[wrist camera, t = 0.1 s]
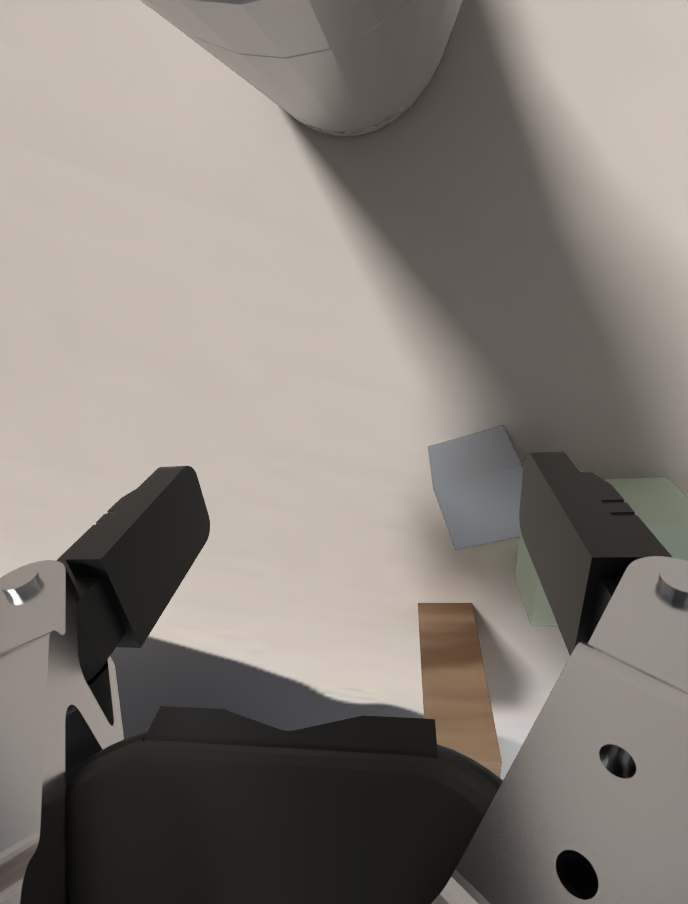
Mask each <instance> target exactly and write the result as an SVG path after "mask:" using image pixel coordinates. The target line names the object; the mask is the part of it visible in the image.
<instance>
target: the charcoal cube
mask: <svg viewBox="0 0 688 904" xmlns="http://www.w3.org/2000/svg"><path fill="white" fill-rule="evenodd" d="M428 451H429V459H430V466H431V474H432V482H433V489H434V492H435V495H436V497H437V500H438V503H439V506H440V509H441V511H442V514H443V517H444V520H445V522H446V525H447V528H448V531H449V534H450V536H451V539H452V542H453V545H454V548H455V550H458V549H462V548H467V547H472V546H477V545H481V544H486V543H491V542H496V541H500V540H505V539H510V538H514V537H519V536H522V534H521V529H520V520H519V510H520V499H521V488H522V477H523V467H522V464H521V462H520V460H519V458H518V456H517V454H516V452H515V449H514V447H513V445H512V443H511V441H510V439H509V437H508V434H507V432H506V430H505V428H504V426H503V425H502V426H499V427H495V428H492V429H488V430H485V431H481V432H477V433H474V434H470V435H467V436H463V437H460V438H456V439H453V440H449V441H446V442H442V443H439V444H435V445H431V446H428Z"/></svg>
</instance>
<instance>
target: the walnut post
mask: <svg viewBox="0 0 688 904" xmlns="http://www.w3.org/2000/svg"><path fill="white" fill-rule="evenodd" d="M418 613H419V633H420V652H421V670H422V688H423V705H424V719H435V725H436V738H437V744H439V745H441V746H444V747H447V748H450V749H453V750H455V751H457V752H459V753H461V754H463V755H465V756H467V757H469V758H471V759H473V760H475V761H476V762H478V763H479V764H481V765H483V766H484V767H486V768H487V769H489V770H490V771H491V772H493V773H494V774H495V775H497V776H498V777H499V778H500V773H501V764H502V761H501V756H500V750H499V745H498V740H497V734H496V729H495V724H494V718H493V713H492V708H491V702H490V697H489V692H488V686H487V681H486V676H485V670H484V665H483V660H482V654H481V649H480V644H479V639H478V633H477V628H476V623H475V617H474V612H473V607H472V603H418Z"/></svg>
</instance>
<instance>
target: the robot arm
mask: <svg viewBox="0 0 688 904" xmlns="http://www.w3.org/2000/svg"><path fill="white" fill-rule="evenodd" d="M140 1H142V2H143V3H144V4H145V5H147V6H148V7H150V8H151V9H153V10H154V11H156V12H157V13H158V14H160V15H161V16H162V17H163V18H165V19H166V20H167V21H169V22H170V23H171V24H173V25H174V26H175V27H177V28H178V29H179V30H180V31H182V32H183V33H184V34H186V35H187V36H188V37H190V38H191V39H192V40H194V41H195V42H196V43H197V44H199V45H200V46H201V47H203V48H204V49H205V50H207V51H208V52H209V53H211V54H212V55H213V56H214V57H216V58H217V59H218V60H220V61H221V62H222V63H224V64H225V65H226V66H228V67H229V68H230V69H231V70H233V71H234V72H235V73H237V74H238V75H239V76H241V77H242V78H243V79H245V80H246V81H247V82H248V83H250V84H251V85H252V86H254V87H255V88H256V89H258V90H259V91H260V92H262V93H263V94H264V95H265V96H267V97H268V98H269V99H271V100H272V101H273V102H274V103H276V104H277V105H278V106H280V107H281V108H282V109H284V110H285V111H286V112H287V113H289V114H290V115H291V116H293V117H294V118H295V119H297V120H298V121H299V122H301V123H303V124H305V125H306V126H308V127H310V128H312V129H314V130H316V131H318V132H322V133H326V134H330V135H335V136H359V135H362V134H366V133H369V132H373V131H376V130H379V129H380V128H382V127H384V126H386V125H387V124H389V123H391V122H392V121H394V120H396V119H397V118H398V117H400V116H401V115H402V114H403V113H404V112H405V111H406V110H407V109H408V108H409V107H410V106H412V105H413V104H414V103H415V101H416V100H417V99H418V97H419V96H420V95H421V93H422V92H423V91H424V89H425V88H426V87H427V85H428V84H429V83H430V81H431V79H432V77H433V75H434V73H435V71H436V69H437V67H438V65H439V63H440V61H441V59H442V57H443V54H444V51H445V48H446V46H447V43H448V40H449V37H450V34H451V31H452V29H453V26H454V24H455V21H456V18H457V15H458V13H459V10H460V7H461V4H462V1H463V0H140ZM519 520H520V529H521V534H522V537H523V540H524V543H525V545H526V548H527V550H528V553H529V555H530V558H531V560H532V562H533V565H534V567H535V570H536V572H537V575H538V577H539V580H540V582H541V585H542V587H543V590H544V592H545V595H546V597H547V600H548V602H549V605H550V607H551V609H552V612H553V614H554V617H555V619H556V622H557V624H558V627H559V629H560V632H561V634H562V637H563V639H564V642H565V644H566V647H567V649H568V652H569V654H570V658H569V660H568V661H567V663H566V665H565V667H564V669H563V671H562V673H561V674H560V676H559V678H558V680H557V682H556V684H555V686H554V687H553V689H552V691H551V693H550V695H549V697H548V699H547V700H546V702H545V704H544V706H543V708H542V710H541V712H540V713H539V715H538V717H537V719H536V721H535V723H534V725H533V726H532V728H531V730H530V732H529V734H528V736H527V738H526V739H525V741H524V743H523V745H522V747H521V749H520V751H519V752H518V754H517V756H516V758H515V760H514V762H513V764H512V765H511V767H510V769H509V771H508V773H507V775H506V777H505V778H504V780H502V779H500V778H499V777H498V776H497V775H495V774H494V773H493V772H491V771H490V770H489V769H487V768H486V767H484V766H483V765H481V764H479V763H478V762H476V761H475V760H473V759H471V758H469V757H467V756H465V755H463V754H461V753H459V752H457V751H455V750H453V749H450V748H447V747H444V746H441V745H439V744H437V738H436V725H435V719H422V718H400V717H399V718H398V717H378V716H359V717H355V718H350V719H346V720H341V721H336V722H332V723H327V724H322V725H318V726H313V727H309V728H304V729H299V730H294V731H284V730H280V729H277V728H274V727H271V726H268V725H265V724H262V723H260V722H257V721H255V720H252V719H249V718H246V717H243V716H241V715H238V714H235V713H232V712H230V711H227V710H224V709H208V708H187V707H165V706H160V709H159V710H158V713H157V714H156V716H155V718H154V720H153V722H152V724H151V726H150V728H149V730H148V731H146V732H143V733H140V734H137V735H134V736H131V737H128V738H126V739H124V737H123V729H122V721H121V713H120V705H119V697H118V689H117V681H116V672H115V667H114V663H113V661H112V659H111V657H110V655H111V654H112V652H113V651H114V649H115V648H116V647H134V648H141V647H142V645H143V643H144V642H145V640H146V638H147V637H148V635H149V634H150V632H151V630H152V629H153V627H154V626H155V624H156V622H157V621H158V619H159V617H160V616H161V614H162V613H163V611H164V609H165V608H166V606H167V605H168V603H169V601H170V600H171V598H172V596H173V595H174V593H175V592H176V590H177V588H178V587H179V585H180V584H181V582H182V580H183V579H184V577H185V575H186V574H187V572H188V571H189V569H190V567H191V566H192V564H193V562H194V561H195V559H196V558H197V556H198V554H199V553H200V551H201V550H202V548H203V546H204V545H205V543H206V541H207V539H208V536H209V531H210V520H209V515H208V512H207V508H206V505H205V502H204V498H203V495H202V491H201V488H200V485H199V481H198V478H197V475H196V472H195V470H194V469H193V468H192V467H190V466H176V467H160V468H158V469H157V470H156V471H155V472H154V473H153V474H152V475H151V476H150V477H149V478H148V479H147V480H145V481H144V482H143V483H142V484H141V485H140V486H139V487H138V488H137V489H136V490H134V491H132V492H131V493H129V494H127V495H126V496H124V497H122V498H121V499H120V500H119V501H118V502H117V503H116V504H115V505H114V506H113V507H112V508H110V509H109V510H108V514H104V515H103V516H102V517H101V518H100V519H99V520H98V521H97V522H96V523H97V524H96V525H93V526H92V527H91V528H90V529H89V530H88V531H87V532H86V533H85V534H83V535H82V536H81V537H80V538H79V539H78V540H77V541H76V542H75V543H74V544H73V545H72V546H71V547H70V548H69V549H68V550H67V551H66V552H65V553H64V554H63V555H62V556H61V557H60V558H59V559H58V560H57V561H53V560H46V561H39V562H35V563H31V564H28V565H25V566H23V567H20V568H18V569H16V570H14V571H11V572H10V573H8V574H6V575H4V576H3V577H1V578H0V904H688V561H685V560H682V559H677V558H673V557H672V556H671V555H670V553H669V552H668V551H667V550H666V549H665V547H664V546H663V545H662V544H661V543H660V542H659V540H658V539H657V538H656V537H655V536H654V534H653V533H652V532H651V531H650V530H649V528H648V527H647V526H646V525H645V524H644V522H643V521H642V520H641V519H640V518H639V517H638V515H635V512H634V511H633V509H632V508H631V507H630V506H629V505H628V503H625V502H624V499H623V497H622V496H621V495H620V494H619V493H618V492H617V490H616V489H615V488H614V487H613V486H612V485H611V484H610V483H608V482H606V481H605V480H603V479H601V478H599V477H598V476H596V475H594V474H593V473H580V472H579V471H578V470H577V468H576V467H575V466H574V464H573V463H572V462H571V460H570V459H569V458H568V456H567V455H566V454H565V453H564V452H541V453H527V454H526V456H525V459H524V466H523V477H522V488H521V499H520V510H519Z"/></svg>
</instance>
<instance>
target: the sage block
mask: <svg viewBox="0 0 688 904" xmlns="http://www.w3.org/2000/svg"><path fill="white" fill-rule="evenodd" d="M603 480H605V481H606V482H608V483H610V484H611V485H612V486H613V487H614V488H615V489H616V490H617V492H618V493H619V494H620V495H621V496H622V497H623V499H624V502H625V503H628V505H629V506H630V507H631V508H632V509H633V511H634V512H635V515H638V517H639V518H640V519H641V520H642V521H643V522H644V524H645V525H646V526H647V527H648V528H649V530H650V531H651V532H652V533H653V534H654V536H655V537H656V538H657V539H658V540H659V542H660V543H661V544H662V545H663V546H664V547H665V549H666V550H667V551H668V552H669V553H670V555H671V556H672V557H673V558H677V559H682V560H685V561H688V498H687V497H686V495H685V494H684V493H683V492H682V491H681V490H680V489H679V488H678V487H677V486H676V485H675V484H674V483H673V482H672V481H671V480H670V479H669V478H668V477H652V478H625V479H603ZM515 577H516V580H517V583H518V587H519V590H520V593H521V596H522V599H523V602H524V605H525V609H526V612H527V615H528V618H529V621H530V624H531V626H558V624H557V622H556V619H555V617H554V614H553V612H552V609H551V607H550V605H549V602H548V600H547V597H546V595H545V592H544V590H543V587H542V585H541V582H540V580H539V577H538V575H537V572H536V570H535V567H534V565H533V562H532V560H531V558H530V555H529V553H528V550H527V548H526V545H525V543H524V540H523V537H522V536H519V543H518V552H517V560H516V569H515Z"/></svg>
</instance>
